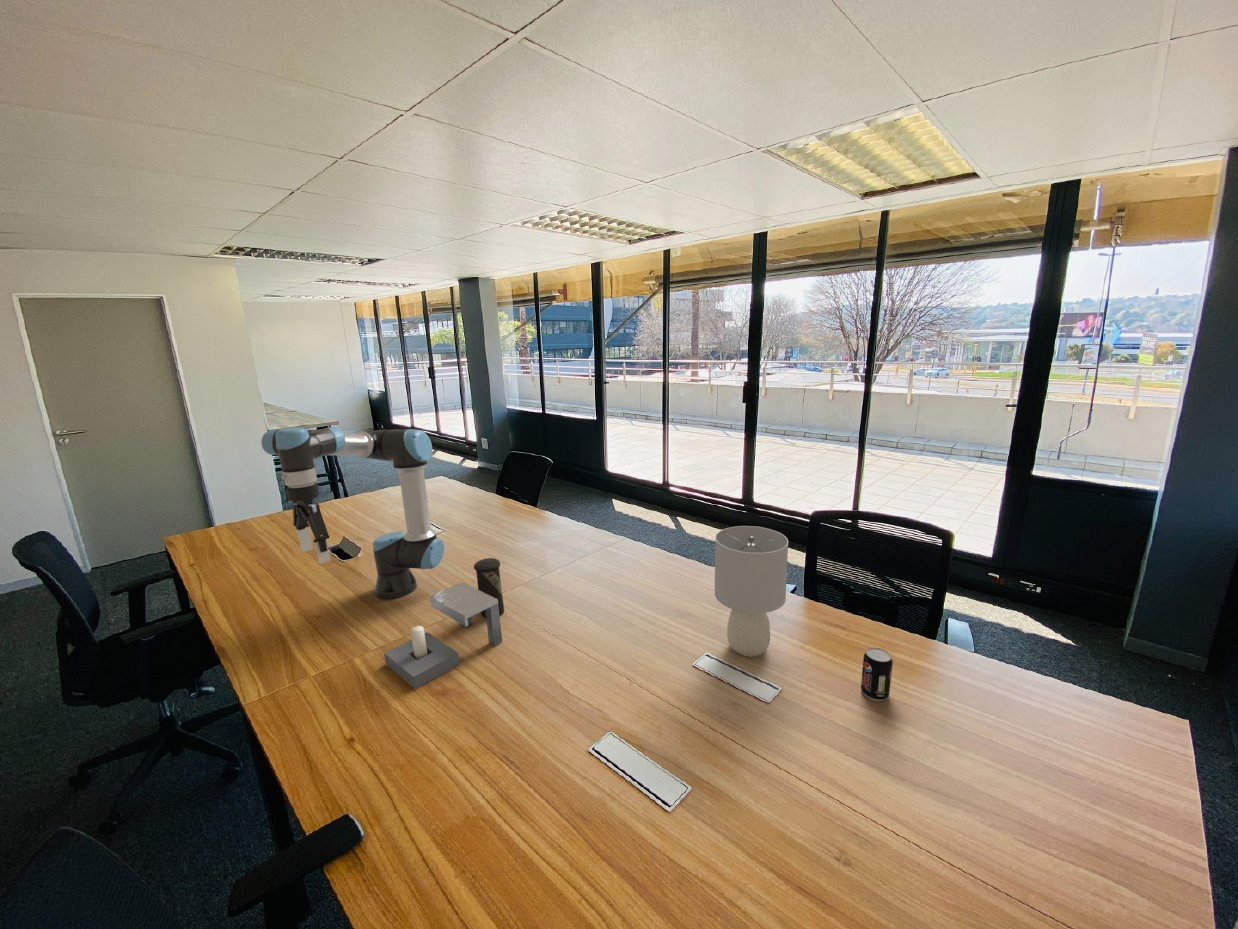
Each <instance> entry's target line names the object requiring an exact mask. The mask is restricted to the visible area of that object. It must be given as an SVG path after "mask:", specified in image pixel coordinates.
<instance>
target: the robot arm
mask: <svg viewBox="0 0 1238 929" xmlns="http://www.w3.org/2000/svg"><path fill="white" fill-rule="evenodd" d="M260 443H261V448H262V450H263V451H264V452H265V453H266V454H268V455H272V456H278V457H279V463H280V468H281V471H282V475H281V477H280V478H281V480H283V481H284V485H285V486H286V488H285V491H286V497H287V500H288V501H290V502H292V515H293V516H292V521H293V522H292V524H293V526H294V527H295V529H296V530H297V536H298V540H299V545H300V551H301V552H302V553H304V552H308V551H310V550H313V548H314V547H313V544H314V546H315V550H316V555H317V561H318V564H319V565H321V564H324V563H327V562H331V561H332V560H331V556H330V551H329V544H328V541H327V540H328V539H330V534H329V532H328V528H327V527H326V524H325V520H324V517H323V515H322V512H321V508H320V505H319V503H315V502H314V499H315V498H317V497H319V496H320V489H319V484H318V482H317V481H318V476H317V472H316V466H315V461H314V459H318V458H321V457H325V456H354V457H356V458H358V459H368V460H369V459H370V460H375V461H384V462H392V464H393V465H392V466H393V469H395V470H396V471H397V472H398V474H399V476H398V478H399V481H400V482H399V483H400V490H401V497H402V504H403V511H404V518H405V525H406V533H405V532H403V531H393V532H388V533H386V534H383V535H381V536H379V537H377V538H375V539H374V541H373V542H372V547H373V548H372V549H373V550H372V552H373V557H374V562H375V567H376V572H377V578H376V583H375V586H374V592H375V596H376V597H377V598H379V599H384V600H391V599H398V598H401V597H403V596H407V595H409V594H410V593H412V592H413V591H415V590H416V589H417V586H418V584H417V580H416V577H415V576H414V574H413V572H412V570H411V569H415V570H416V569H419V570H433V569H435V568H437V567H438V566H439V565H440V563H441V562H442V559H443V557H444V554H445V543H444V541H443V540H442V539H441V538H438V537H437V532H436V530H435V529H433V528H432V526H431V517H430V510H429V500H428V492H427V485H426V477H425V471H424V470H425V469H424V468H425V467H426V466H427V465H428V461H429V460H430V459H431V457H432V453H433V445H432V441H431V438H430V437H429V436H428V434H427V433H425V431H423V430H420V429H411V428H408V429H407V428H406V429H405V428H404V429H379V430H372V431H371V430H370V431H364V430H363V431H362V430H361V431H357V432H355V433H348V432H347V433H345V432H342V430H340V429H339V428H337V427H333V426H332V427H324V428H322V429H308V428H306V427H303V426H302V427H300V426H299V427H298V426H297V427H288V428H282V429H279V428H278V429H277V428H276V429H271V430H267V431H265V433H264V434H263V435H262V437H261V442H260ZM309 527H310V529H309ZM310 530H311V532H312V535H313V537H314V539H313V542H312V537H311V534H310Z"/></svg>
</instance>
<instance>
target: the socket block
mask: <svg viewBox="0 0 1238 929" xmlns="http://www.w3.org/2000/svg"><path fill="white" fill-rule="evenodd" d="M424 634H425V641H426V648H427V654H428V655H426V656H424V657H423V658H421V659H419V660H416V659H415V656H414V650H413V643H412V639H411V640H408V641H406V642H404V643H402V644H400V645H398V646H396V647H394V648H391V649H389V650H388V651H385V652H384V655H383V656H384V660H385V665H386V666H387V667H388V668H390V670H392V671H393V672H394V673H395V674H396V675H398V676H399V677H400V678H401V679H403V680H404V681H405V682H406V683H408V685H409V686H411V687H412V688H414V690H417V689H419V688H420V687H422V686H424V685H425V684H428V683H429V682H431V681H433V680H434V679H436V678H439V676H441V675H443V674H445V673H447V672H448V671H450V670H452V669H454V668H455V667H457V666H459V665H460V659H459V658H460V657H459V652H458V651H456V649H453V647H450V646H449V645H447V644H446V643H444V642H443V641H441V640H440V639H438V638H437V637H436V636H435V635H432V634H431V633H429V632H428V631H427V632H424Z"/></svg>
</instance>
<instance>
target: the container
mask: <svg viewBox="0 0 1238 929" xmlns="http://www.w3.org/2000/svg"><path fill="white" fill-rule="evenodd" d="M500 566H501V562H500V560H499V559H497V558H493V557H488V558H483V559H479V560H478V561H477V562H475V563H474V565H473V569H474V571H476V572H475V573H476V581H477V589H478V590H480V591H482V592H484V593H486V594H488V595H490V596H492V597H494V598H496V599H498V606H499V615H500V616H502V615H503V614H504V613H505V606H504V597H503V590H502V580H501V573H500ZM479 614H480V616H481V617H483V618H484V619H486V612H485V610H483V611H481V612H479Z"/></svg>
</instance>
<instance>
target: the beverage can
mask: <svg viewBox="0 0 1238 929" xmlns="http://www.w3.org/2000/svg"><path fill="white" fill-rule="evenodd" d="M862 660H863V661H862V670H861V671H862V672H861V682H860V691H861V693H863V695H864V696H865V697H866V698H868V699H869V700H872V701H874V702H883V701H886V700H888V698H889V697H890V693H891V685H892V684H891V682H892V675H893V674H892V673H893V664H894V661H893V658H892V655H891V654H890V653H889V652H888V651H887V650H885V649H883V648H879V647H869V648H866V650H865V653H864V654H863V659H862Z"/></svg>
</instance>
